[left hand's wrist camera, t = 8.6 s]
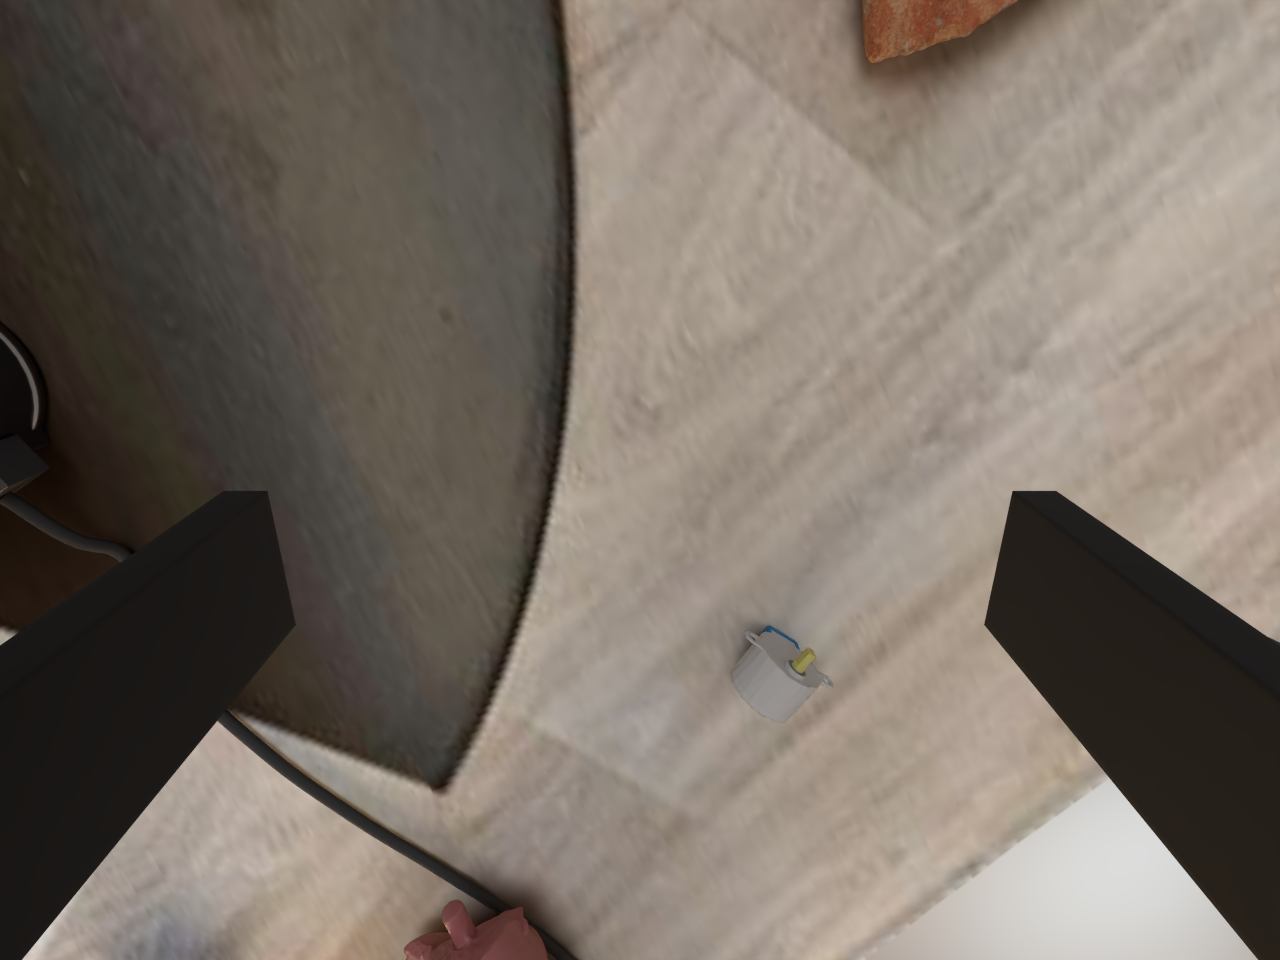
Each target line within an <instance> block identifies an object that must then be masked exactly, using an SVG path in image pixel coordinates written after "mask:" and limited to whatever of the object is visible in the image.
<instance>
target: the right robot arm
mask: <svg viewBox="0 0 1280 960" xmlns="http://www.w3.org/2000/svg"><path fill="white" fill-rule="evenodd" d="M45 410H46V401H45V393H44V388H43V384H42V381H41V378H40V375H39V373H38V370H37V368H36V366H35V364H34V363H33V361H32V359H31V358H30V356H29V354H28V353H27V352H26V350H25V349H24V347H23V346H22V345H21V344H20V343H19V341H18V340H17V339H16V338H15V337H14V336H13V335H12V334H11V333H10V332H9V331H8V330H7V329H6V328H4V327H3V326H2V325H1V324H0V504H1V505H3V506H5V507H6V508H8V509H9V510H11V511H12V512H14V513H16V514H17V515H19V516H20V517H22V518H23V519H25V520H26V521H27V522H29V523H31V524H32V525H34V526H35V527H37V528H38V529H40V530H41V531H43V532H45V533H46V534H48V535H50V536H52V537H53V538H55V539H57V540H59V541H61V542H63V543H65V544H67V545H70V546H72V547H74V548H77V549H81V550H85V551H90V552H97V553H104V554H108V555H110V556H112V557H114V558H115V559H116V560H117V561H118V562H119V563H120V562H122V561H123V560H125V559H126V558H128V557H129V556H131V555H132V553H131V552H130V551H129V550H128V549H126V548H125V547H124V546H122V545H120V544H118V543H115V542H111V541H107V540H101V539H94V538H89V537H86V536H83V535H81V534H79V533H77V532H74V531H73V530H71V529H69V528H67V527H65V526H63V525H62V524H60V523H58V522H57V521H55V520H53V519H52V518H50V517H49V516H47V515H46V514H44V513H43V512H41V511H40V510H38V509H37V508H35V507H34V506H33V505H31V504H30V503H28V502H27V501H25V500H24V499H22V498H21V497H19V496H18V495H16V494H14V493H15V492H16V491H18V490H19V489H21V488H22V487H24V486H25V485H27V484H28V483H29V482H31V481H32V480H34V479H35V478H37V477H38V476H39V475H41V474H42V473H44V472H45V471H47V470H48V469H49V466H48V465H47V464H46V463H45V462H44V461H43V460H42V459H41V458H40V457H39V456H38V455H37V454H36V453H35V452H34V451H35V450H37V449H40V448H42V447H45V446H47V445H49V443H50V441H49V439H48V437H47V435H46V433H45V432H44V429H43V426H42V424H43V421H44V417H45ZM217 721H218V722H219V723H221V724H222V725H223V726H224V727H225V728H226V729H227V730H229V731H230V732H231V733H232V734H233V735H234V736H235V737H237V738H238V739H239V740H240V741H241V742H243V743H244V744H245V745H246V746H247V747H249V748H250V749H251V750H252V751H253V752H254V753H256V754H257V755H258V756H259V757H260V758H262V759H263V760H264V761H265V762H266V763H268V764H269V765H270V766H271V767H273V768H274V769H275V770H276V771H278V772H279V773H280V774H282V775H283V776H284V777H286V778H287V779H288V780H290V781H291V782H292V783H294V784H295V785H296V786H298V787H299V788H301V789H302V790H303V791H305V792H306V793H308V794H309V795H311V796H312V797H314V798H315V799H316V800H318V801H319V802H321V803H322V804H324V805H325V806H327V807H328V808H330V809H331V810H333V811H334V812H336V813H337V814H339V815H340V816H342V817H343V818H345V819H346V820H348V821H349V822H351V823H352V824H354V825H355V826H357V827H359V828H360V829H362V830H363V831H365V832H366V833H368V834H370V835H371V836H373V837H374V838H376V839H378V840H379V841H381V842H383V843H384V844H386V845H388V846H389V847H391V848H393V849H394V850H396V851H398V852H399V853H401V854H403V855H404V856H406V857H408V858H410V859H411V860H413V861H415V862H416V863H418V864H420V865H421V866H423V867H424V868H426V869H428V870H429V871H431V872H433V873H434V874H436V875H437V876H439V877H441V878H442V879H444V880H445V881H447V882H448V883H450V884H452V885H453V886H455V887H456V888H458V889H460V890H461V891H463V892H465V893H466V894H468V895H469V896H471V897H473V898H474V899H476V900H477V901H479V902H481V903H482V904H484V905H485V906H487V907H488V908H490V909H492V910H493V911H495V912H496V913H498V914H501V913H502V912H504V911H507V910H513V909H512V908H510V907H509V906H508V905H506V904H505V903H503V902H502V901H500V900H499V899H497V898H496V897H494V896H493V895H491V894H490V893H488V892H486V891H485V890H483V889H482V888H480V887H479V886H477V885H475V884H474V883H472V882H471V881H469V880H467V879H466V878H464V877H463V876H461V875H459V874H458V873H456V872H455V871H453V870H452V869H450V868H448V867H447V866H445V865H444V864H442V863H440V862H439V861H437V860H436V859H434V858H433V857H431V856H429V855H428V854H426V853H424V852H423V851H421V850H419V849H418V848H416V847H414V846H413V845H411V844H409V843H408V842H406V841H404V840H403V839H401V838H399V837H398V836H396V835H394V834H393V833H391V832H389V831H388V830H386V829H385V828H383V827H381V826H380V825H378V824H377V823H375V822H373V821H372V820H370V819H369V818H367V817H366V816H364V815H363V814H361V813H360V812H358V811H357V810H355V809H354V808H352V807H351V806H349V805H348V804H346V803H345V802H343V801H342V800H340V799H339V798H337V797H336V796H334V795H333V794H331V793H330V792H328V791H327V790H326V789H324V788H323V787H321V786H320V785H318V784H317V783H315V782H314V781H313V780H311V779H310V778H308V777H307V776H306V775H304V774H303V773H302V772H300V771H299V770H298V769H296V768H295V767H294V766H292V765H291V764H290V763H288V762H287V761H286V760H285V759H283V758H282V757H281V756H280V755H278V754H277V753H276V752H275V751H274V750H272V749H271V748H270V747H269V746H268V745H267V744H265V743H264V742H263V741H262V740H261V739H259V738H258V737H257V736H256V735H255V734H254V733H252V732H251V731H250V730H249V729H248V728H247V727H245V726H244V725H243V724H242V723H241V722H240V721H239V720H237V719H236V718H235V717H234V716H233V715H232V714H231V713H230V712H229V711H227V710H226V711H225V712H224V713H223V714H222V715H221V717H220V718H219V719H218V720H217ZM526 920H527V919H526ZM527 922H528V925H530V926H532V927H533V928H534V929H535V930H536V931H537V932H538V934H539V935H540V937H541V939H542V941H543V943H544V946H545V949H546V950H547V951H548V952H549V953H551V954H552V955H553V956H554V957H555V958H556V959H558V960H575V959H574V958H573V957H572V956H570V955H569V954H568V953H567V952H566V951H565V950H564V949H563V948H562V947H561V946H559V945H558V944H557V943H556V942H555V941H553V940H552V939H551V938H550V937H549V936H547V935H546V934H545V933H544V932H542V931H541V930H540V929H538V928H537V927H536V926H535V925H533V924H532V923H531V922H529V921H528V920H527Z"/></svg>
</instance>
